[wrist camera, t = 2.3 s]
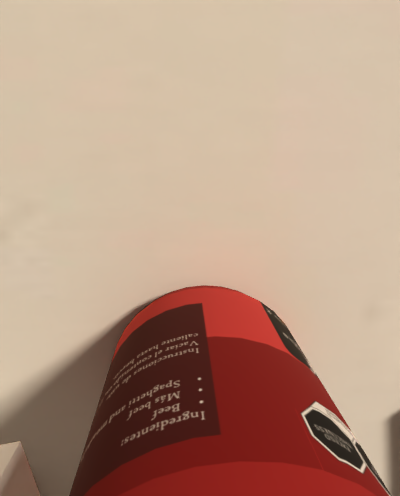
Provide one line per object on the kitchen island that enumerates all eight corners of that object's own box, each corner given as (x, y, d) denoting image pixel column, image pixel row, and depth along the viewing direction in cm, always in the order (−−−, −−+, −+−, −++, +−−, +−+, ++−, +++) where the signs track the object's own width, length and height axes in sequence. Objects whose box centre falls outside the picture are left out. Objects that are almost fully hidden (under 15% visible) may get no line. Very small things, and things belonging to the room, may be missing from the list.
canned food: (278, 433, 18) (428, 859, 7) (112, 425, 17) (4, 884, 6) (307, 286, 16) (574, 574, 5) (120, 271, 15) (-16, 567, 4)
